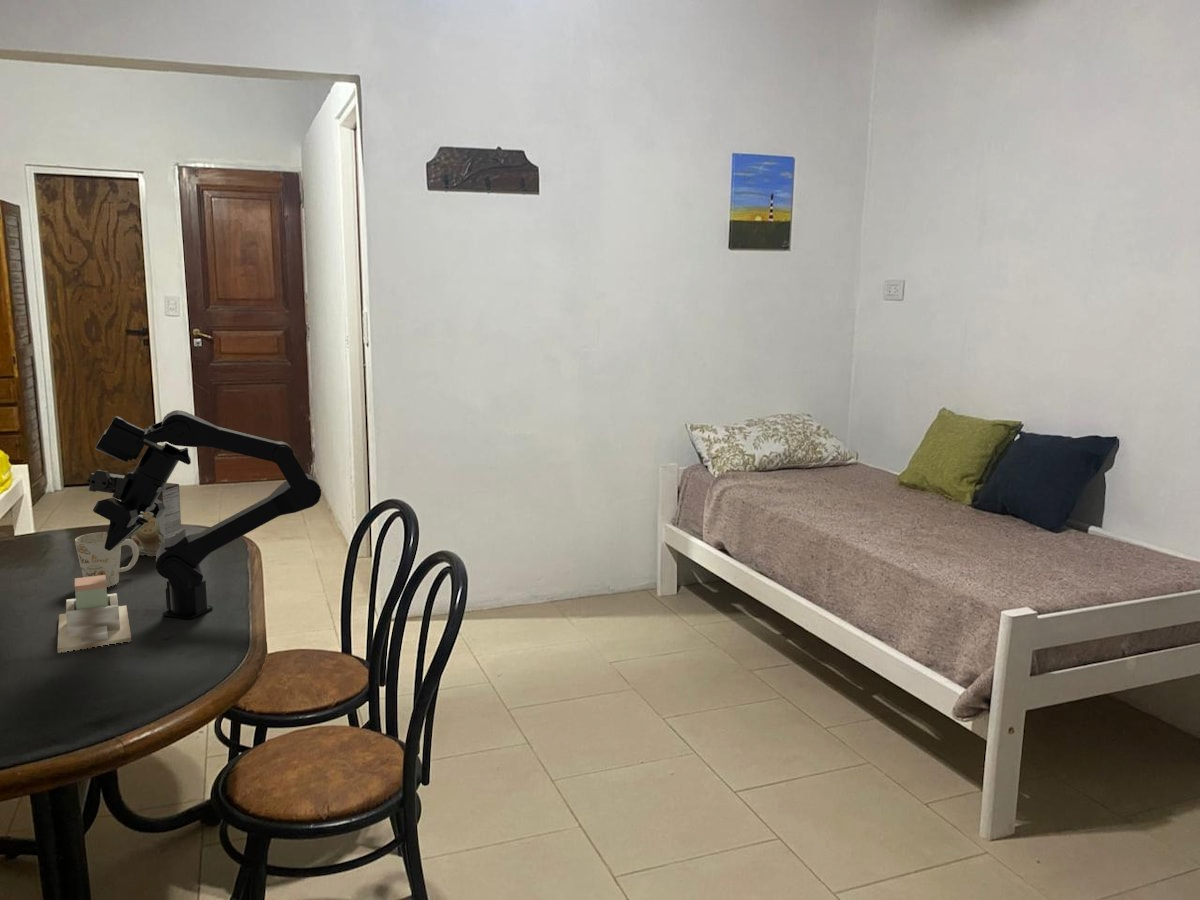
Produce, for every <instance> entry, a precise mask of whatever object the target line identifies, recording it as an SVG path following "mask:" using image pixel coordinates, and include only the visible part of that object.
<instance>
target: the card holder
mask: <svg viewBox="0 0 1200 900" xmlns="http://www.w3.org/2000/svg"><path fill="white" fill-rule="evenodd" d="M65 600H66V601H65V602H66V603H65V613H60V614H58V629H57V632H58V633H57V653H58V654H61V652H62V653H68V652H67V651H69V652H73V650H75V651H80V649H82V650H87V648H88V649H93V648H92V647H95V648H98V647H97V646H101V647H104V646H103V645H108V646H110V645H109V644H115V645H117V644H116V643H121V644H124V643H123V642H128V643H131V642H132V634H131V629H130V628H131V627H130V621H129V614H128V608H127V604H126V605H119V601H118V593H116V592H115V593H107V600H108V606H104V607H97V608H89V609H82V610H77V607H76V597H75V598H69V599H65ZM130 641H131V642H130Z"/></svg>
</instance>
